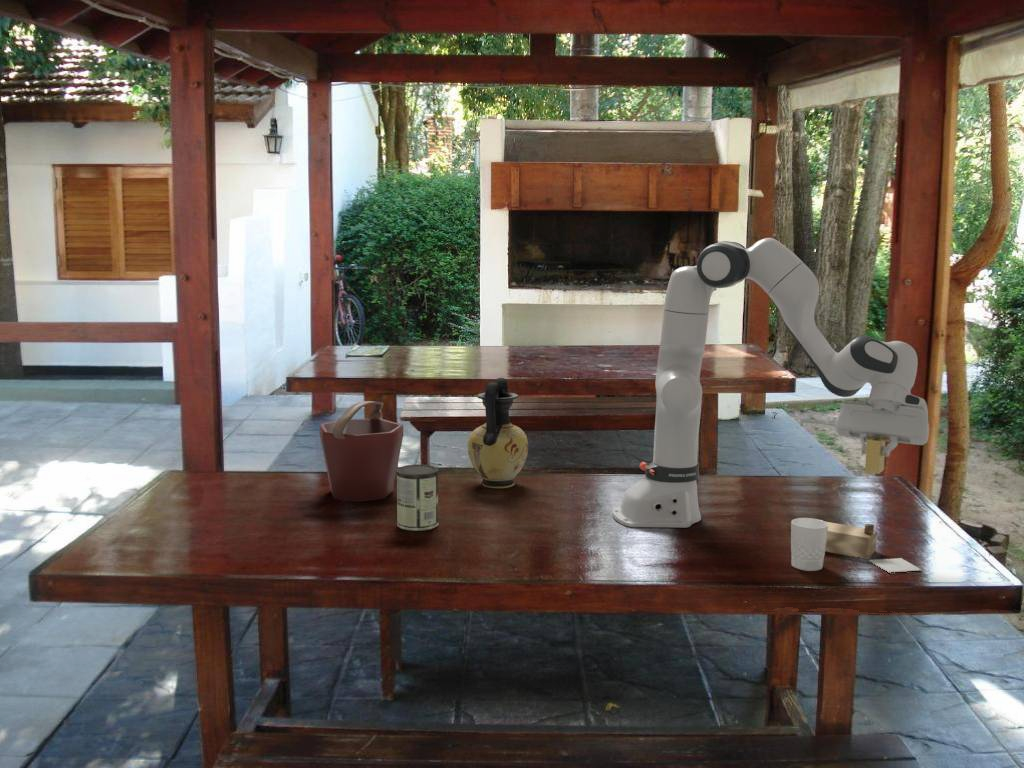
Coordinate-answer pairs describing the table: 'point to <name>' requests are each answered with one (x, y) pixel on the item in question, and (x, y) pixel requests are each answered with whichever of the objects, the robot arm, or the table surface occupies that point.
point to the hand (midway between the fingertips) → (874, 454)
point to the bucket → (361, 454)
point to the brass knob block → (874, 454)
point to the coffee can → (417, 497)
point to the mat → (894, 565)
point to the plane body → (851, 540)
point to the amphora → (497, 439)
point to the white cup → (808, 543)
